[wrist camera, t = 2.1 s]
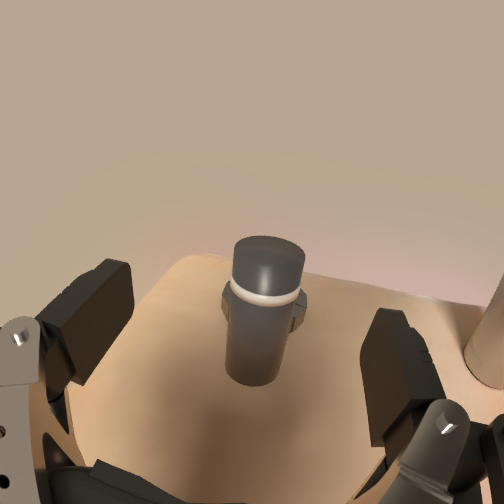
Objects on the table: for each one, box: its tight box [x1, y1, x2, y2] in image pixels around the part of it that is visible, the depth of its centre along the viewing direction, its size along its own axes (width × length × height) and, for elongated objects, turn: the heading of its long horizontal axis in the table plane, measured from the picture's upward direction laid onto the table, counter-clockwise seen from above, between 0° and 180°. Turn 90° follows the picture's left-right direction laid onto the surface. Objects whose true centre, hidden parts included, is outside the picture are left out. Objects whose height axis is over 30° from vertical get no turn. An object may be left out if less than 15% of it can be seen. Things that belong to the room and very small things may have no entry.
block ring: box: [221, 281, 307, 333], centre depth 34 cm, size 9×9×2 cm
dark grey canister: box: [225, 236, 305, 386], centre depth 24 cm, size 5×5×12 cm
